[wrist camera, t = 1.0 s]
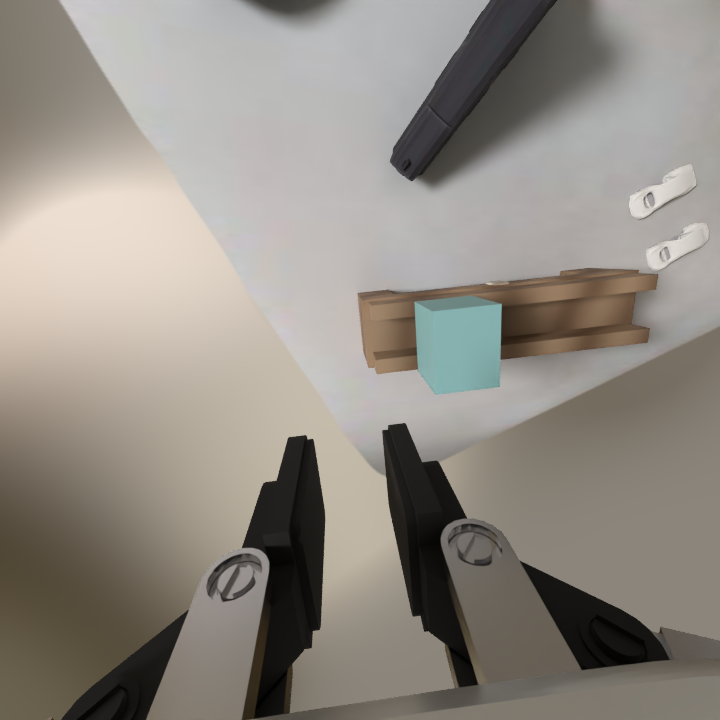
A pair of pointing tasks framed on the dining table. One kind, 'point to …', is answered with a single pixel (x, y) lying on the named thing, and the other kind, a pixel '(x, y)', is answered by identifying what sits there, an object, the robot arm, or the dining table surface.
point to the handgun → (466, 80)
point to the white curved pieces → (671, 188)
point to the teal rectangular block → (458, 343)
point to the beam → (517, 315)
